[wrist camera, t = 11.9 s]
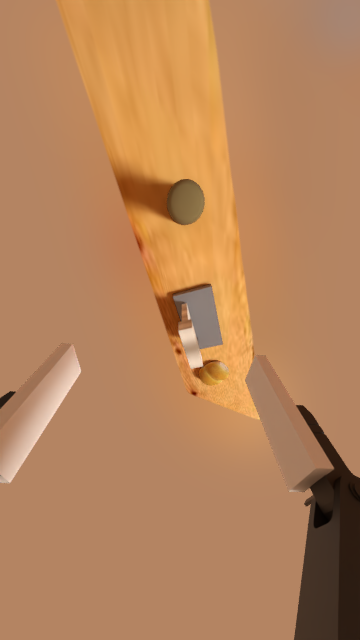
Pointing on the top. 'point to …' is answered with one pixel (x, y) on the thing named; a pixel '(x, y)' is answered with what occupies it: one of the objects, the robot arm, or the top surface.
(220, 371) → the bread roll
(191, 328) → the gate
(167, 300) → the top surface
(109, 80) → the top surface
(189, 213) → the olive mushroom
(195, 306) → the board
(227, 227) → the top surface
